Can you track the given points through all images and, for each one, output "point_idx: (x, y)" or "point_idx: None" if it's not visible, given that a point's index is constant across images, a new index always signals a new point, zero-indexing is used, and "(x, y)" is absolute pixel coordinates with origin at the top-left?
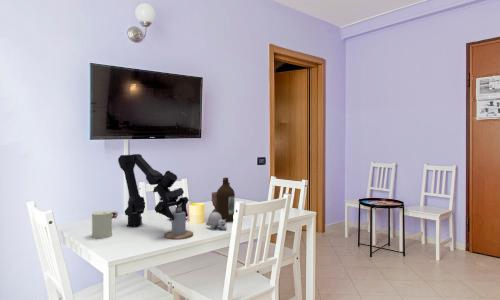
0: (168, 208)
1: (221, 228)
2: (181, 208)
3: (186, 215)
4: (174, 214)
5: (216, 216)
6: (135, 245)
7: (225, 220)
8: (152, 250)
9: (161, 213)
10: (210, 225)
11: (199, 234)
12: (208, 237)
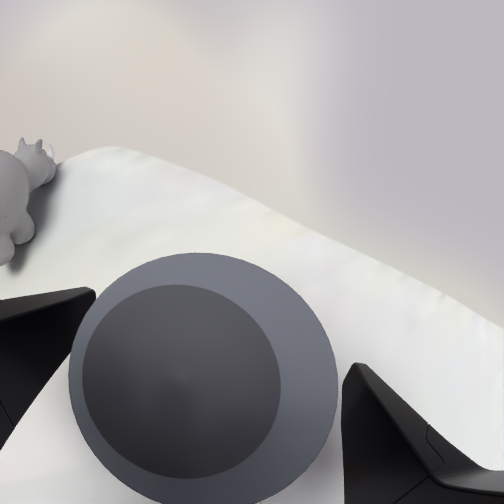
0: (471, 482)
1: (48, 179)
2: (169, 292)
3: (89, 308)
4: (333, 395)
5: (8, 156)
6: (478, 455)
7: (22, 143)
8: (494, 330)
9: None
10: (17, 234)
11: (148, 253)
12: (199, 181)
